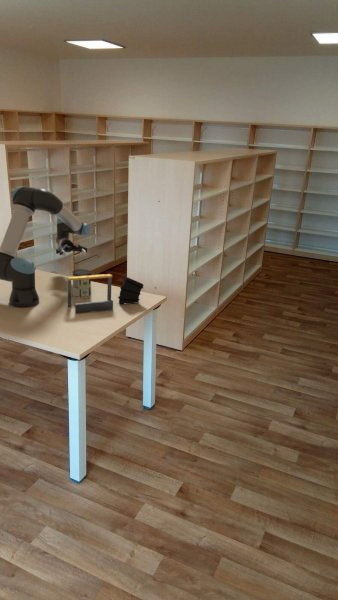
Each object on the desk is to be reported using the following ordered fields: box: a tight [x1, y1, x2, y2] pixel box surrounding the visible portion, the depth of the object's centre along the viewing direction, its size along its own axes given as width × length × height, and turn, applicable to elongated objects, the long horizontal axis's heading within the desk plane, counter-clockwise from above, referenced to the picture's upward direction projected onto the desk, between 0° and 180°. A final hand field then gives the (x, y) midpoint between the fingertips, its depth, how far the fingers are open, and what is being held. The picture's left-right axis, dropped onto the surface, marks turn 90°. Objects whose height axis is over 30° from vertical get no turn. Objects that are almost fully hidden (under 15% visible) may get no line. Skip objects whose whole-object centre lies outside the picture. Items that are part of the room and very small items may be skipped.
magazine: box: [117, 276, 144, 305], centre depth 242 cm, size 4×13×15 cm, turn 114°
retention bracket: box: [66, 273, 114, 315], centre depth 229 cm, size 24×11×16 cm, turn 116°
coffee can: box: [72, 268, 92, 299], centre depth 246 cm, size 10×10×14 cm
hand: (75, 254), depth 254 cm, fingers open, 11 cm apart
